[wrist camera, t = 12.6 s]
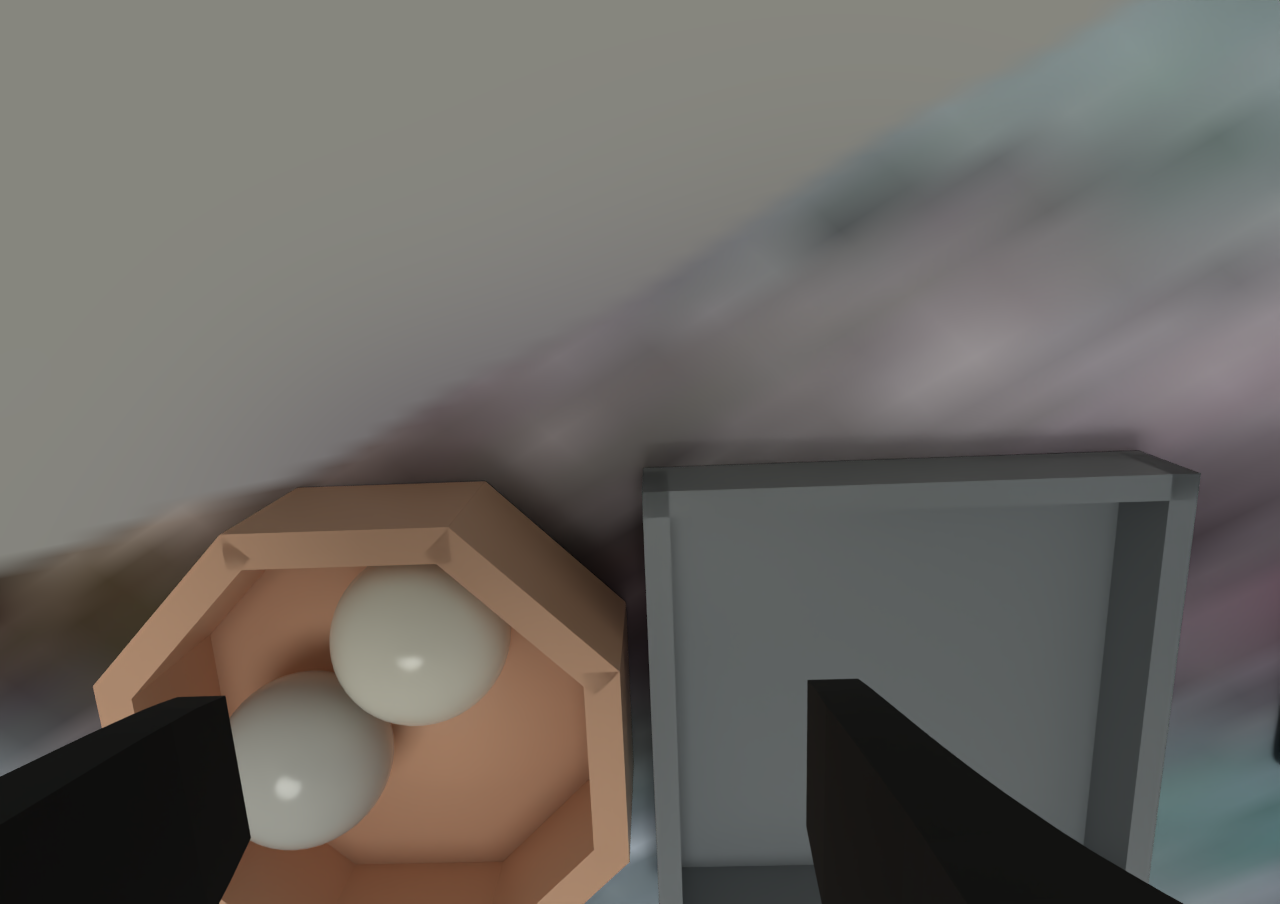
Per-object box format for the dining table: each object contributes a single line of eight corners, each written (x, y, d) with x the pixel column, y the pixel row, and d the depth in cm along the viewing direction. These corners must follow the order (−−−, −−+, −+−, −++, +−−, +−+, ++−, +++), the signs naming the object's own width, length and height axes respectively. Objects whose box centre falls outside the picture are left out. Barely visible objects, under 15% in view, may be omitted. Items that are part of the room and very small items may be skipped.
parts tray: (1139, 450, 19) (1200, 473, 17) (1094, 866, 22) (1142, 931, 20) (643, 467, 19) (641, 492, 17) (659, 875, 22) (660, 940, 20)
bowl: (619, 476, 19) (612, 522, 16) (638, 869, 22) (635, 982, 19) (166, 492, 20) (60, 539, 16) (238, 877, 22) (160, 991, 19)
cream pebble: (519, 578, 21) (518, 529, 17) (503, 737, 19) (498, 720, 15) (365, 568, 20) (330, 515, 17) (335, 729, 19) (289, 710, 15)
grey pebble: (415, 655, 19) (238, 689, 16) (431, 827, 18) (250, 894, 15) (347, 658, 22) (186, 688, 19) (359, 808, 21) (194, 861, 18)
